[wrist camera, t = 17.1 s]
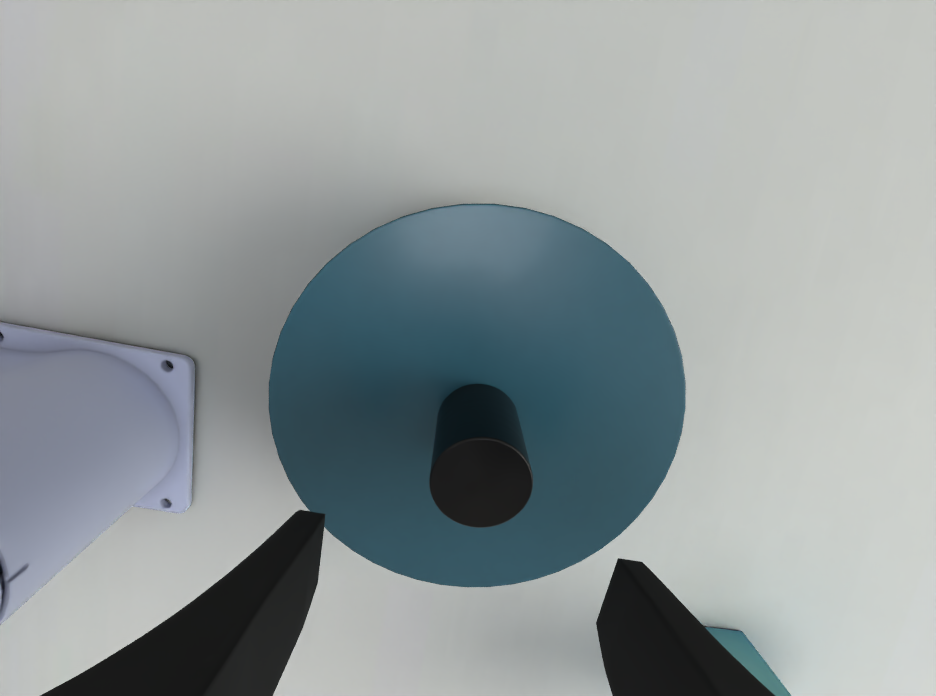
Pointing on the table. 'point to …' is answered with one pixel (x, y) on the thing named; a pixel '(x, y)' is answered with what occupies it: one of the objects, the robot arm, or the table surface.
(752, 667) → the cup
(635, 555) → the table surface
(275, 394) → the lid
